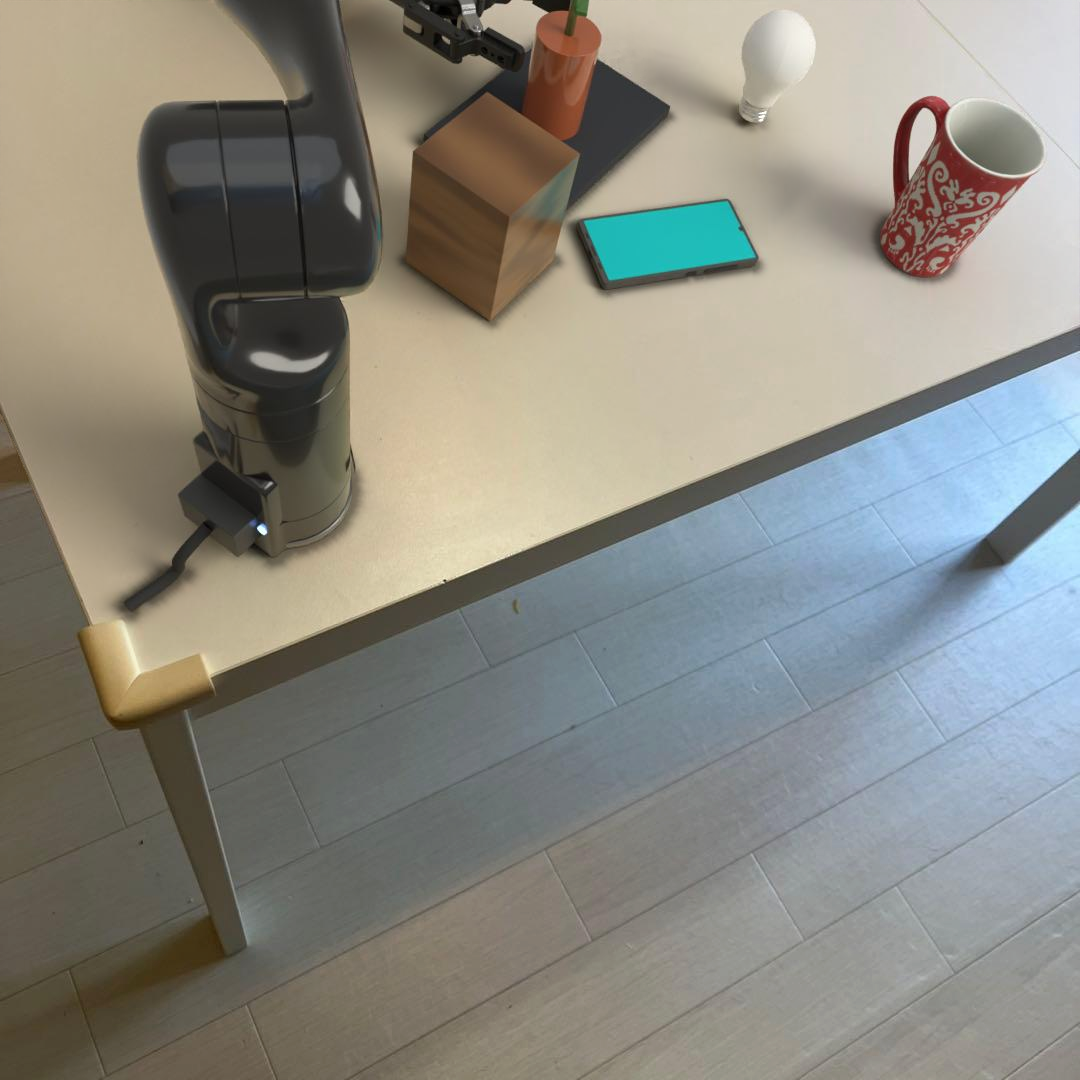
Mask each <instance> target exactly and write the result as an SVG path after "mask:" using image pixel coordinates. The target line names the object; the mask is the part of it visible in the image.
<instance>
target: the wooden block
mask: <svg viewBox="0 0 1080 1080" xmlns="http://www.w3.org/2000/svg"><path fill="white" fill-rule="evenodd" d="M579 156H580V153H578V152H577V151H575V150H574V149H572V148H571V147H569V146H568V145H566V144H565V143H563V142H562V141H560V140H559V139H557V138H556V137H554V136H553V135H551V134H550V133H548V132H547V131H545V130H544V129H542V128H541V127H539V126H538V125H536V124H535V123H533V122H532V121H530V120H529V119H527V118H526V117H524V116H523V115H521V114H520V113H518V112H517V111H515V110H514V109H512V108H511V107H509V106H508V105H506V104H505V103H503V102H502V101H500V100H499V99H497V98H496V97H494V96H493V95H491V94H490V93H488V92H486V93H485V94H484V95H483V96H481V97H480V98H479V99H477V100H476V101H475V102H474V103H472V104H471V105H470V106H469V107H467V108H466V109H465V110H464V111H462V112H461V113H460V114H459V115H457V116H456V117H455V118H454V119H452V120H451V121H450V122H449V123H447V124H446V125H445V126H444V127H442V128H441V129H440V130H439V131H437V132H436V133H435V134H434V135H432V136H431V137H430V138H429V139H427V140H426V141H425V142H424V143H423V142H422V143H421V144H420V145H418V146H417V147H416V148H415V149H414V150H412V162H411V173H410V186H409V187H410V188H409V189H410V190H409V205H408V219H407V235H406V247H405V248H406V249H405V263H406V264H408V265H409V266H410V267H412V268H414V269H415V270H416V271H417V272H419V273H420V274H422V275H423V276H424V277H426V278H428V279H429V280H431V281H432V282H433V283H435V284H436V285H438V286H439V287H440V288H441V289H443V290H445V291H446V292H447V293H448V294H450V295H452V296H453V297H455V298H456V299H457V300H459V301H460V302H462V303H463V304H464V305H466V306H467V307H468V308H470V309H471V310H473V311H474V312H476V313H477V314H478V315H480V316H481V317H483V318H484V319H486V320H487V321H489V322H491V321H492V320H494V318H495V317H497V316H498V314H499V313H501V312H502V311H503V310H504V309H505V308H506V307H507V306H509V304H510V303H511V302H512V301H513V300H514V299H515V298H516V297H517V296H518V295H519V294H520V293H521V292H522V291H523V290H525V288H526V287H528V286H529V284H530V283H532V282H533V280H535V279H536V278H537V277H538V276H539V275H540V274H541V273H542V272H543V271H544V270H545V269H546V268H547V267H548V266H549V265H551V263H552V262H553V261H554V259H555V254H556V251H557V247H558V242H559V239H560V235H561V230H562V226H563V222H564V219H565V216H566V212H567V211H566V207H567V203H568V199H569V195H570V191H571V187H572V184H573V180H574V176H575V172H576V168H577V164H578V160H579ZM565 211H566V212H565Z"/></svg>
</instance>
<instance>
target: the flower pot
mask: <svg viewBox="0 0 1080 1080" xmlns="http://www.w3.org/2000/svg"><path fill="white" fill-rule="evenodd" d="M589 3H590V0H571V3H570V7H569V11H554V12H550V13H548V12H546V14H545V13H544V15H542V16H541V17H540V18H539V19H538V21H537V23H536V26H535V30H534V37H533V43H532V48H531V49H532V53H531V59H530V64H529V70H528V75H527V81H526V87H525V92H524V98H523V103H522V109H521V115H523V116H524V117H526V118H527V119H529V120H530V121H532V122H533V123H535V124H536V125H538V126H539V127H541V128H542V129H544V130H545V131H547V132H548V133H550V134H551V135H553V136H554V137H556V138H557V139H559V140H560V141H561V140H566V139H569V138H571V137H573V136H574V135H575V134H576V133H577V132H578V131H579V129H580V125H581V121H582V117H583V113H584V109H585V105H586V101H587V97H588V93H589V89H590V85H591V81H592V77H593V73H594V69H595V65H596V60H597V59H598V56H599V53H600V52H599V51H600V49H601V44H602V34H601V31H600V29H599V28H598V26H597V25H596V24H595V23H594V22H593V21H592V20H591V19H589V18H588V11H589Z"/></svg>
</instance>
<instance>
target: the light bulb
mask: <svg viewBox="0 0 1080 1080" xmlns="http://www.w3.org/2000/svg"><path fill="white" fill-rule="evenodd" d="M816 41H817V40H816V36H815V33H814V30H813V28H812V26H811V24H810V23H809V22H808V20H806V18H805V17H803V15H801V14H799V13H798V12H795V11H792V10H788V9H777V10H772V11H769V12H767V13H764V14H763V15H762V16H760V17H759V18H757V19H756V20H755V21H754V22H753V23H752V24H751V26H750V27H749V29H748V30H747V32H746V34H745V36H744V39H743V41H742V46H741V63H742V66H743V72H744V77H745V81H744V85H743V87H742V96H741V99H740V101H739V104H738V113H739V114H740V116H741V117H742V118H743V119H744V120H745V121H748V122H750V123H754V124H755V123H756V124H758V123H762V122H763V121H765V120H766V119H767V117H768V115H769V112H770V111H771V108H772V106H773V105H774V104H775V103H776V102H777V100H778V99H779V97H780V95H782V94H783V93H784V92H785V91H787V90H788V89H790V88H792V87H793V86H795V85H797V84H798V83H799V82H801V80H803V79H804V77H805V76H806V75H807V74H808V72H809V71H810V69H811V68H812V66H813V63H814V60H815V56H816V51H817V43H816Z"/></svg>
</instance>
